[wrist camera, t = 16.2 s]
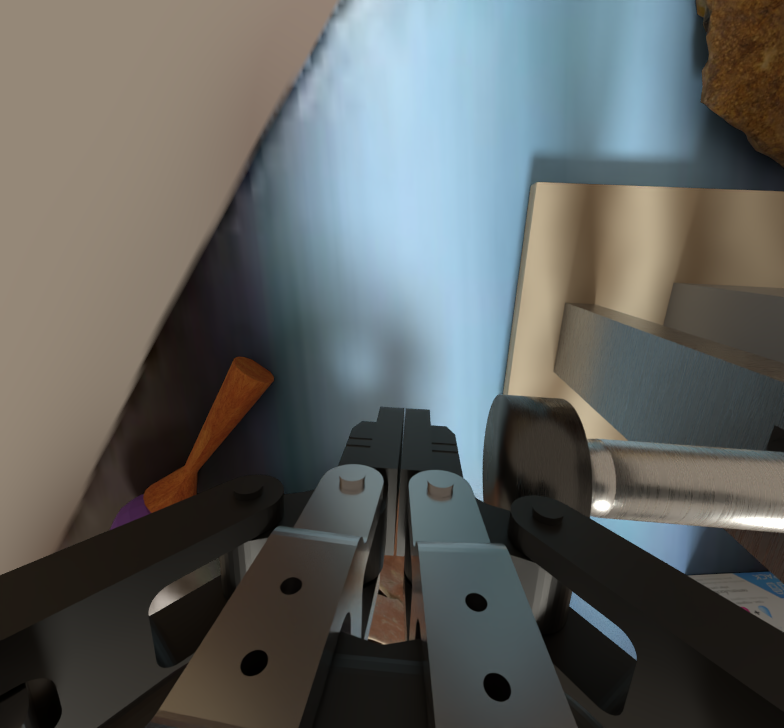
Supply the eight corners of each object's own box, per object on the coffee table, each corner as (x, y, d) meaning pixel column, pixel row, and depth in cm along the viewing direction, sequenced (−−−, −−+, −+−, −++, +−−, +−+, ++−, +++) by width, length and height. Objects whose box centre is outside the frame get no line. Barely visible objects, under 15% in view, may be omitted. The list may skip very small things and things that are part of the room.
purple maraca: (283, 404, 28) (156, 594, 32) (292, 375, 34) (183, 540, 38) (205, 361, 27) (80, 568, 30) (228, 338, 32) (120, 515, 36)
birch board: (498, 429, 32) (501, 437, 30) (530, 185, 27) (537, 182, 25) (759, 447, 31) (775, 457, 29) (844, 198, 26) (870, 194, 24)
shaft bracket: (553, 371, 29) (870, 664, 8) (565, 302, 27) (980, 454, 7) (581, 373, 28) (971, 674, 8) (594, 304, 27) (1102, 462, 7)
